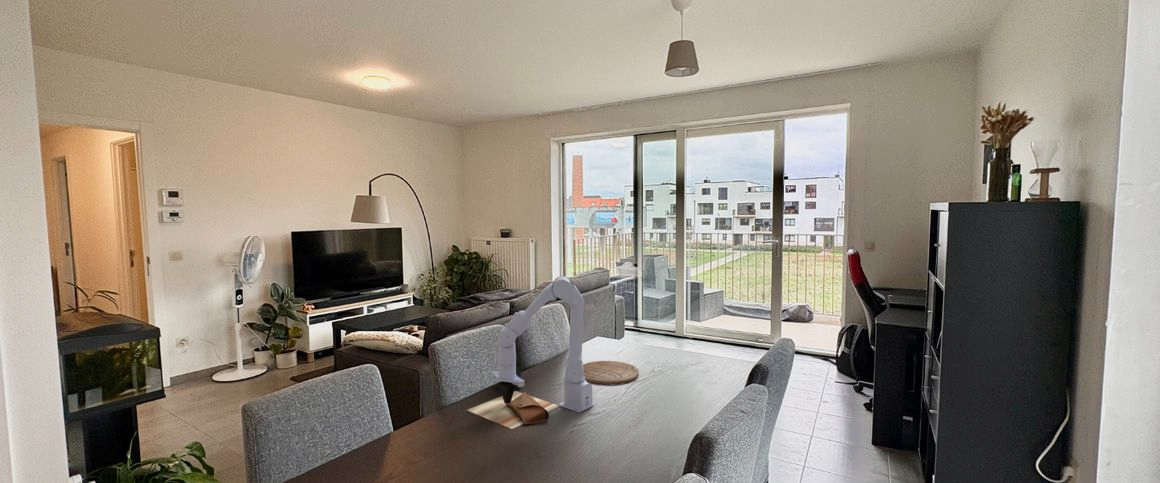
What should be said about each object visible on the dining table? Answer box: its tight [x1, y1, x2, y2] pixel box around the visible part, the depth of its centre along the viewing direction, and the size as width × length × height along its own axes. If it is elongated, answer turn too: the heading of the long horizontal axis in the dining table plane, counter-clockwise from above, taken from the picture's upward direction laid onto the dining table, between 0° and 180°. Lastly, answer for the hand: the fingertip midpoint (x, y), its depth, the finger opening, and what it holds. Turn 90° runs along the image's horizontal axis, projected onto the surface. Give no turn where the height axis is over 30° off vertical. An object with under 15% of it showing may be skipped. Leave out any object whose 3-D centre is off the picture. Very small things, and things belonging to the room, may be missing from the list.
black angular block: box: [514, 346, 522, 391], centre depth 182 cm, size 4×13×15 cm, turn 31°
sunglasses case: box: [506, 391, 550, 425], centre depth 156 cm, size 18×7×7 cm
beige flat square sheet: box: [466, 390, 561, 430], centre depth 160 cm, size 22×22×1 cm
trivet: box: [583, 360, 640, 386], centre depth 194 cm, size 25×25×2 cm
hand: (507, 402), depth 162 cm, fingers closed
